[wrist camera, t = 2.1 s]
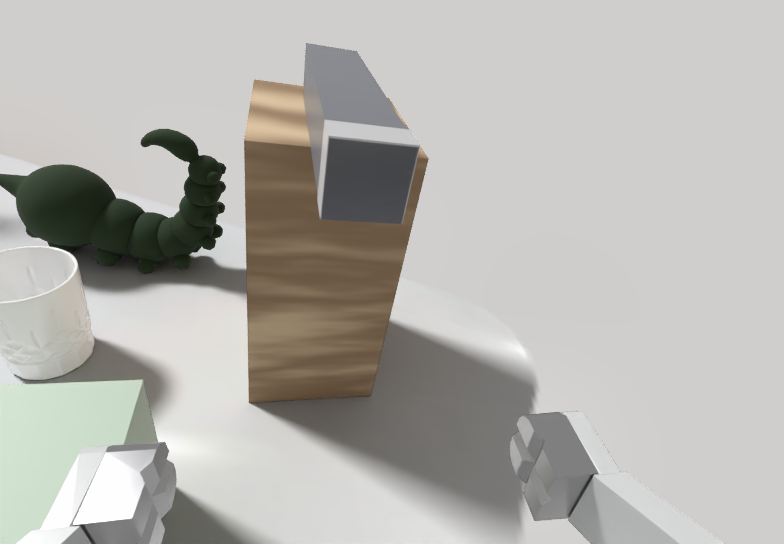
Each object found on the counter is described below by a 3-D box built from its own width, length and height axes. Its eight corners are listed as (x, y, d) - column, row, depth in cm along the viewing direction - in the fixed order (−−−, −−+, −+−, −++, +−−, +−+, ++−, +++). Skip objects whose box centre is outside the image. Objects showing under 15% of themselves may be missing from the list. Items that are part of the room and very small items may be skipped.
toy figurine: (227, 258, 61) (33, 217, 57) (236, 129, 50) (-2, 67, 46) (205, 301, 54) (-21, 257, 49) (209, 160, 43) (-78, 90, 39)
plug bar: (402, 224, 22) (420, 145, 19) (320, 219, 21) (328, 135, 18) (351, 102, 37) (357, 50, 35) (302, 95, 36) (305, 41, 34)
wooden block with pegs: (370, 395, 45) (437, 122, 28) (248, 402, 41) (243, 98, 25) (352, 305, 55) (393, 69, 39) (255, 305, 52) (254, 47, 36)
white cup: (120, 342, 44) (99, 264, 39) (46, 399, 38) (8, 316, 32) (59, 315, 46) (30, 236, 40) (-22, 366, 39) (-71, 280, 34)
